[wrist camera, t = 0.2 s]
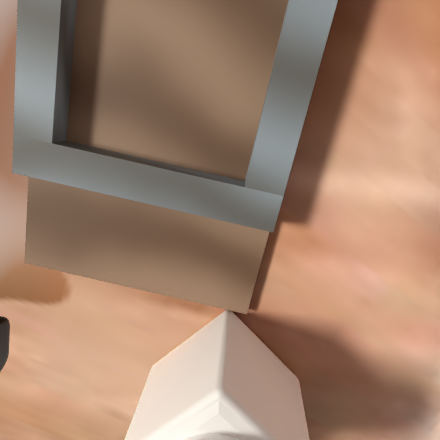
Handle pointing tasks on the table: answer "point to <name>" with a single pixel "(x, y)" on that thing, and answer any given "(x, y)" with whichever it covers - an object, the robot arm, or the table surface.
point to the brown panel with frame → (162, 136)
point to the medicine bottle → (220, 390)
